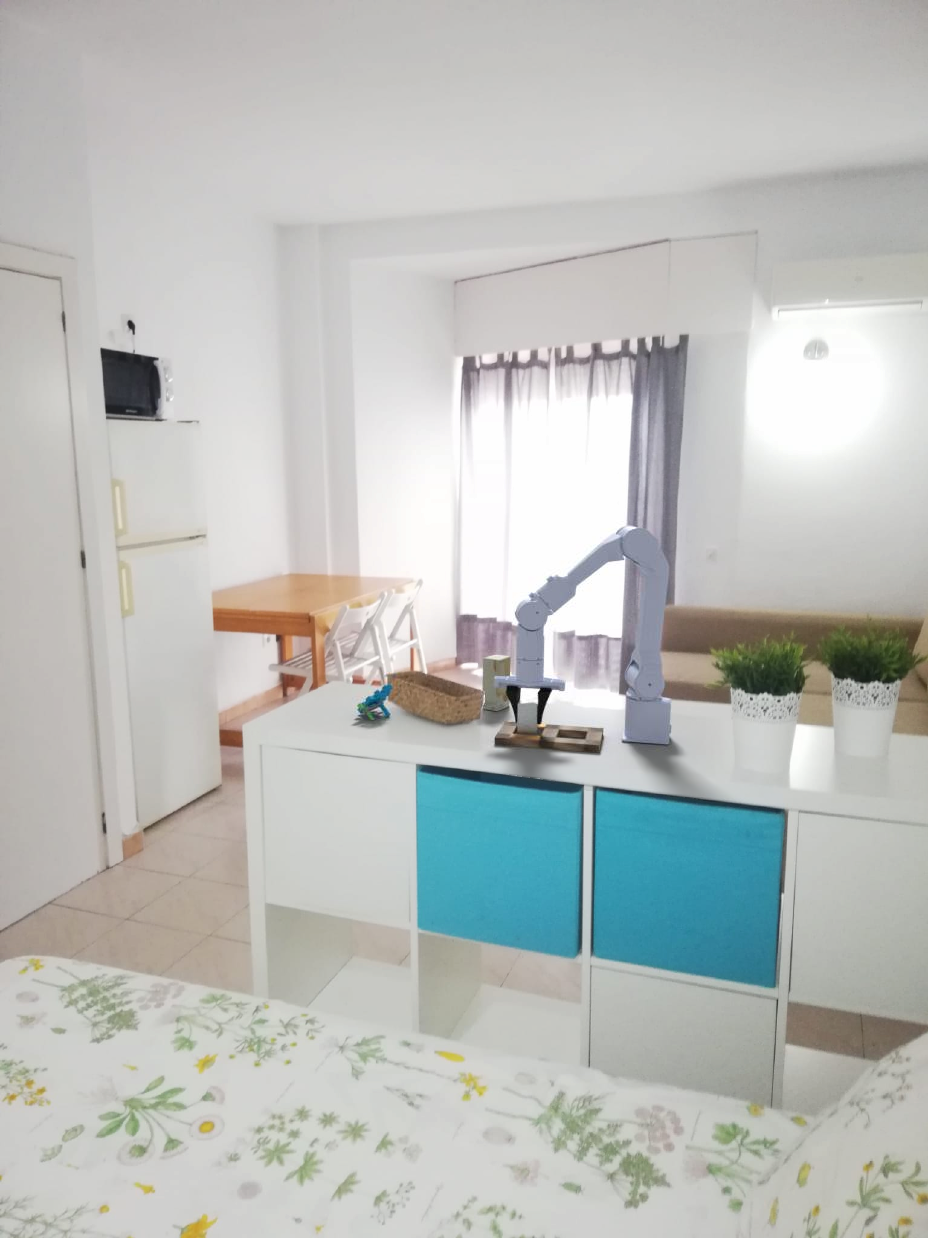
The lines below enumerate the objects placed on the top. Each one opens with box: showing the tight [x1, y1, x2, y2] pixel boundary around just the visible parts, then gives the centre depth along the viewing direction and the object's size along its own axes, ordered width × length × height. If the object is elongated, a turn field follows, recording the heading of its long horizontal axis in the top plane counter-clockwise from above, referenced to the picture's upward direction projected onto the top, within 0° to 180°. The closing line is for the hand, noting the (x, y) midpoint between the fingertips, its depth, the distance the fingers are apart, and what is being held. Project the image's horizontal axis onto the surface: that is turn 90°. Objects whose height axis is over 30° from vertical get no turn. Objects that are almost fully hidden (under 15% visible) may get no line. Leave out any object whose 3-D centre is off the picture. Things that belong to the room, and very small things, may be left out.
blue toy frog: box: [356, 683, 392, 722], centre depth 193 cm, size 11×6×10 cm
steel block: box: [516, 698, 539, 736], centre depth 177 cm, size 4×4×7 cm
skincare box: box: [481, 654, 512, 712], centre depth 200 cm, size 6×4×12 cm
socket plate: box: [494, 721, 604, 753], centre depth 176 cm, size 21×12×2 cm, turn 77°
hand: (528, 722), depth 177 cm, fingers closed on steel block, 4 cm apart
